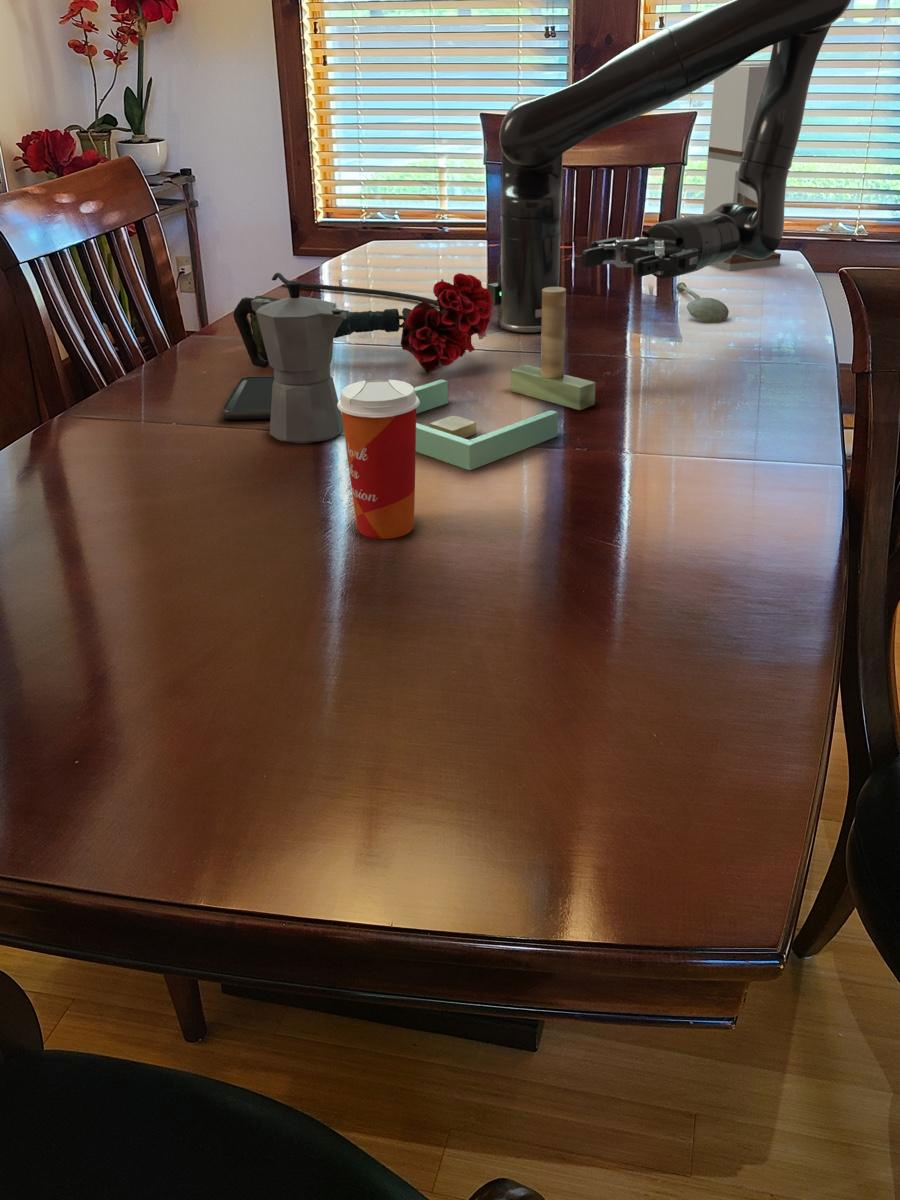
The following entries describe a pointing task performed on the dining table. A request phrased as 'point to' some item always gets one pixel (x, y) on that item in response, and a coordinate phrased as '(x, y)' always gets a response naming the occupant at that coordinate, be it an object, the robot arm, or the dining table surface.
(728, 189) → the white pillar
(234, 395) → the phone
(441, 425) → the beige square block
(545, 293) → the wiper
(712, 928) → the dining table surface
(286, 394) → the coffeepot
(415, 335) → the carnation
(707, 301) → the soupspoon
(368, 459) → the paper cup
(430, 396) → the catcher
